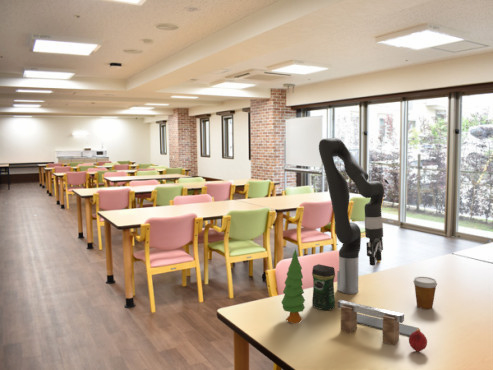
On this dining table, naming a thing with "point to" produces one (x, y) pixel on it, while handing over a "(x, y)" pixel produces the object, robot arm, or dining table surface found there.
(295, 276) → the decorative tree
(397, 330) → the post
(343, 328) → the post
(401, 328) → the mat
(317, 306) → the coffee jar
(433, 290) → the disposable coffee cup
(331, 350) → the dining table surface
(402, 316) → the rail
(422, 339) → the onion
